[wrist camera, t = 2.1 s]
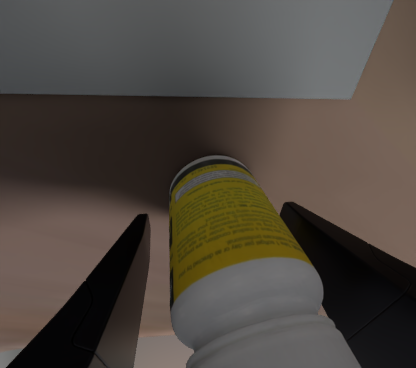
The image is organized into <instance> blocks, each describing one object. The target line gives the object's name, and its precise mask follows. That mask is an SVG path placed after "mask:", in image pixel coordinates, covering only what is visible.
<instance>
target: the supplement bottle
mask: <svg viewBox="0 0 416 368" xmlns="http://www.w3.org/2000/svg"><path fill="white" fill-rule="evenodd" d="M169 233H170V239H169V249H170V311H171V322H172V327H173V330H174V332H175V334H176V336H177V337H178V339H179V340H180V341H181V342H182V343H183V344H185V345H186V346H188V347H189V348H191V349H193V350H194V354H193V355H192V356H191V357H190V358H189V360H188V361H187V364H186V368H361V366H360V365H359V363H358V361H357V360H356V358H355V356H354V354H353V353H352V351H351V349H350V348H349V346H348V344H347V343H346V341H345V339H344V337H343V335H342V333H341V332H340V331H339V330H337V329H336V328H335V324H334V322H333V321H332V320H331V319H330V318H328V317H325V316H322V315H318V313H317V312H318V310H319V309H320V306H321V304H322V300H323V285H322V281H321V279H320V276H319V274H318V273H317V271H316V269H315V268H314V266H313V265H312V263H311V262H310V260H309V259H308V257H307V256H306V254H305V253H304V251H303V250H302V248H301V247H300V245H299V244H298V243H297V241H296V240H295V238H294V237H293V235H292V234H291V232H290V231H289V229H288V228H287V226H286V225H285V223H284V222H283V220H282V219H281V217H280V216H279V215H278V213H277V212H276V210H275V209H274V207H273V206H272V204H271V203H270V201H269V200H268V198H267V196H266V195H265V193H264V192H263V190H262V189H261V187H260V186H259V184H258V183H257V181H256V180H255V178H254V177H253V175H252V174H251V172H250V171H249V170H248V169H247V167H246V166H244V165H243V164H242V163H241V162H239V161H238V160H236V159H234V158H231V157H227V156H219V155H214V156H206V157H202V158H200V159H197V160H195V161H193V162H191V163H189V164H188V165H186V166H185V167H184V168H183V169H182V170H181V171H180V172H179V173H178V174H177V175H176V177H175V178H174V180H173V182H172V184H171V187H170V192H169Z"/></svg>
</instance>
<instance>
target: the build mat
mask: <svg viewBox="0 0 416 368" xmlns="http://www.w3.org/2000/svg"><path fill="white" fill-rule="evenodd" d="M392 2H393V0H0V93H3V94H63V95H122V96H181V97H240V98H299V99H351V97H352V95H353V93H354V90H355V88H356V86H357V84H358V81H359V79H360V77H361V74H362V72H363V70H364V67H365V65H366V63H367V60H368V58H369V56H370V53H371V51H372V49H373V46H374V44H375V42H376V40H377V37H378V35H379V33H380V30H381V28H382V26H383V23H384V21H385V19H386V16H387V14H388V12H389V9H390V7H391V5H392Z"/></svg>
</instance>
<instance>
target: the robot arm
mask: <svg viewBox="0 0 416 368" xmlns="http://www.w3.org/2000/svg"><path fill="white" fill-rule="evenodd" d="M280 217H281V219H282V220H283V222H284V223H285V225H286V226H287V228H288V229H289V231H290V232H291V234H292V235H293V237H294V238H295V240H296V241H297V243H298V244H299V245H300V247H301V248H302V250H303V251H304V253H305V254H306V256H307V257H308V259H309V260H310V262H311V263H312V265H313V266H314V268H315V269H316V271H317V273H318V274H319V276H320V279H321V281H322V285H323V300H322V306H323V308H324V310H325V312H326V314H327V316H328V317H329V318H330V319H331V320H332V321H333V322H334V324H335V328H336V329H337V330H339V331H340V332H341V333H342V335H343V337H344V339H345V341H346V343H347V344H348V346H349V348H350V349H351V351H352V353H353V354H354V356H355V358H356V360H357V361H358V363H359V365H360V366H361V368H416V268H415V267H413V266H411V265H409V264H407V263H405V262H403V261H401V260H399V259H397V258H395V257H393V256H391V255H389V254H387V253H385V252H384V251H382V250H380V249H378V248H376V247H374V246H373V245H371V244H368V243H367V242H365V241H363V240H362V239H360V238H358V237H356V236H354V235H352V234H351V233H349V232H347V231H345V230H343V229H342V228H340V227H338V226H336V225H334V224H332V223H331V222H329V221H327V220H325V219H323V218H322V217H320V216H318V215H316V214H314V213H312V212H311V211H309V210H307V209H305V208H303V207H302V206H300V205H298V204H296V203H294V202H285V203H284V204H283V207H282V210H281V213H280ZM149 261H150V222H149V217H148V214H138V215H137V216H136V218H135V219H134V220H133V221H132V222H131V224H130V225H129V226H128V227H127V229H126V230H125V231H124V232H123V234H122V235H121V236H120V237H119V239H118V240H117V241H116V242H115V244H114V245H113V246H112V247H111V249H110V250H109V251H108V252H107V254H106V255H105V256H104V257H103V258H102V260H101V261H100V262H99V263H98V265H97V266H96V267H95V268H94V270H93V271H92V272H91V273H90V275H89V276H88V277H87V278H86V281H84V282H83V283H82V284H81V286H80V287H79V288H78V289H77V291H76V292H75V293H74V294H73V295H72V297H71V298H70V299H69V300H68V301H67V302H66V304H65V305H64V306H63V307H62V308H61V309H60V310H59V311H58V313H57V314H56V315H55V316H54V317H53V318H52V319H51V320H50V321H49V322H48V324H47V325H46V326H45V327H44V328H43V329H42V330H41V331H40V332H39V333H38V334H37V335H36V336H35V337H34V338H33V339H32V340H31V342H30V343H29V344H28V345H27V346H26V347H25V348H24V349H23V350H22V351H21V352H20V353H19V354H18V355H17V356H16V357H15V359H14V360H13V361H12V362H11V363H10V364H9V365H8V366H7V367H6V368H133V367H134V360H135V354H136V347H137V340H138V334H139V328H140V321H141V315H142V308H143V302H144V295H145V289H146V282H147V276H148V269H149Z"/></svg>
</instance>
